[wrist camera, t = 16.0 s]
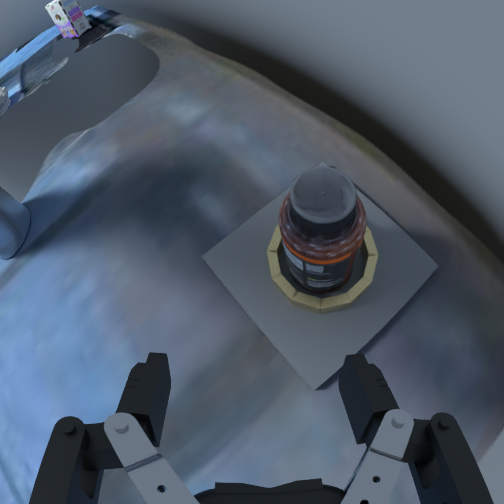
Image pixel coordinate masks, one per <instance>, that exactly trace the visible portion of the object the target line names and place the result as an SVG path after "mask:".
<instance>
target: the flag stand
mask: <svg viewBox="0 0 504 504" xmlns="http://www.w3.org/2000/svg"><path fill="white" fill-rule="evenodd" d="M10 103H11V100H10V99H9V97H8V91H7V89H6V88H5V87H1V88H0V118H1V117H2V115H3V114H4V113H5V112H6V110H7V109H8V107H9V106H10Z"/></svg>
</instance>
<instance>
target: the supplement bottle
mask: <svg viewBox="0 0 504 504" xmlns="http://www.w3.org/2000/svg"><path fill="white" fill-rule="evenodd" d="M366 222H367V217H366V211H365V208H364V205H363V203H362V201H361V200H360V198H359V196H358V195H357V192H356V188H355V186H354V183H353V182H352V180H351V179H350V178H349V177H348V176H347V175H346V174H345V173H343V172H341V171H340V170H338V169H335V168H331V167H324V166H320V167H313V168H310V169H307V170H305V171H303V172H302V173H300V174H299V175H298V176H297V177H296V178H295V179H294V181H293V182H292V184H291V187H290V192H289V193H288V194H287V195H286V197H285V198H284V200H283V202H282V204H281V207H280V211H279V228H280V233H281V237H282V241H283V246H284V250H285V255H286V259H287V264H288V268H289V271H290V273H291V275H292V277H293V279H294V280H295V281H296V282H297V283H298V284H299V285H300V286H301V287H303V288H304V289H307V290H309V291H312V292H317V293H326V292H331V291H334V290H336V289H338V288H339V287H341V286H342V285H343V284H344V283H345V282H346V281H347V280H348V279H349V277H350V276H351V274H352V272H353V269H354V266H355V263H356V260H357V257H358V254H359V251H360V248H361V244H362V242H363V239H364V234H365V231H366Z"/></svg>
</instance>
